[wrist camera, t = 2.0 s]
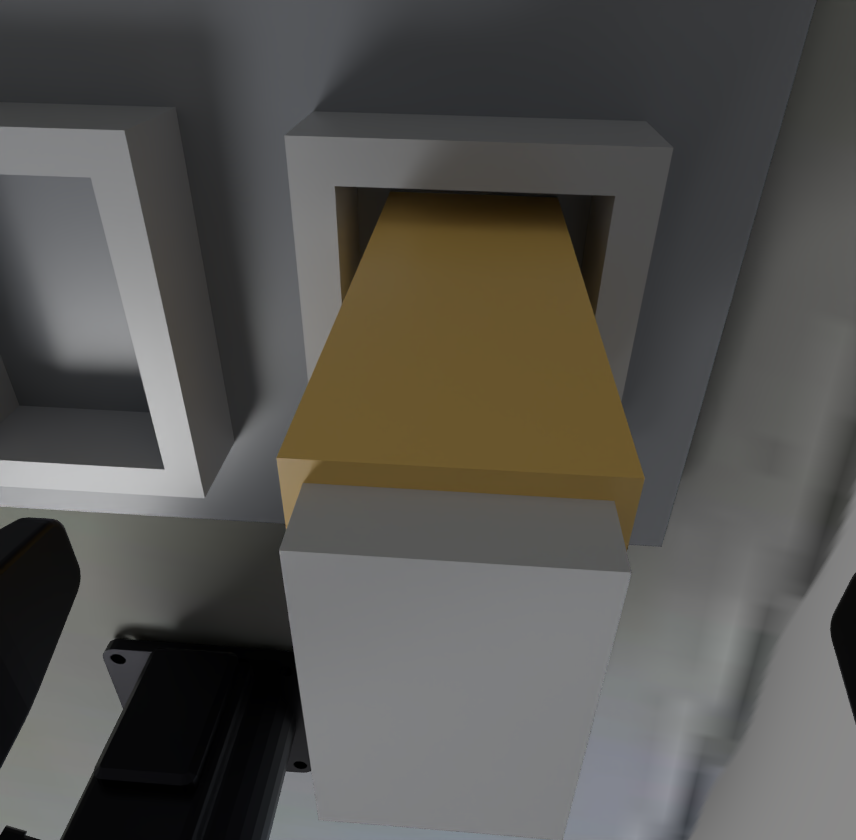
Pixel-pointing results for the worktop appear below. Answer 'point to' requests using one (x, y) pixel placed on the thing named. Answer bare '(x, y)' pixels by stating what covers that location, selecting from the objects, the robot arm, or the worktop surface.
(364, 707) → the block
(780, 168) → the worktop surface
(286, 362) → the board
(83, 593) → the worktop surface
